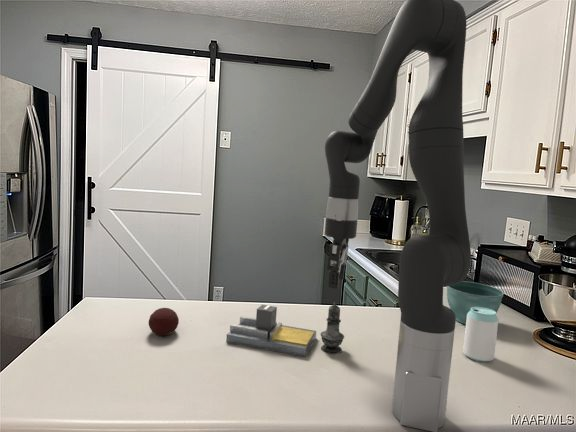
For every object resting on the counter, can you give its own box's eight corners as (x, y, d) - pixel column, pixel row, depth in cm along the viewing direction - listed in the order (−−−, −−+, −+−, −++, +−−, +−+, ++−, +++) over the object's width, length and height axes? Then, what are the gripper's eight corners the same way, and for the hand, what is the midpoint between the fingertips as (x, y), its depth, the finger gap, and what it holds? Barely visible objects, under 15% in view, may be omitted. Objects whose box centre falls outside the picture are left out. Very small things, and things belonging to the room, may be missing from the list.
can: (475, 364, 99) (481, 315, 98) (456, 351, 106) (461, 306, 104) (500, 362, 101) (506, 314, 99) (479, 350, 107) (484, 305, 106)
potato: (145, 340, 100) (146, 315, 100) (151, 325, 110) (152, 302, 110) (176, 340, 102) (177, 316, 101) (180, 325, 111) (180, 302, 111)
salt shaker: (315, 350, 101) (319, 302, 100) (324, 342, 106) (328, 296, 105) (338, 356, 98) (342, 307, 97) (346, 348, 103) (350, 301, 102)
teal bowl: (511, 329, 125) (516, 294, 124) (470, 333, 119) (475, 297, 118) (470, 311, 140) (473, 280, 139) (432, 314, 134) (435, 282, 133)
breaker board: (304, 356, 97) (305, 342, 96) (225, 342, 102) (226, 328, 102) (315, 338, 108) (316, 325, 108) (244, 325, 114) (244, 313, 113)
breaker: (270, 335, 103) (271, 310, 102) (255, 332, 104) (256, 308, 104) (275, 329, 107) (276, 306, 106) (260, 326, 108) (262, 303, 107)
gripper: (331, 213, 107) (326, 274, 108) (320, 218, 93) (314, 288, 95) (360, 215, 104) (355, 278, 106) (353, 221, 91) (347, 293, 93)
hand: (336, 283), depth 100 cm, fingers open, 8 cm apart
